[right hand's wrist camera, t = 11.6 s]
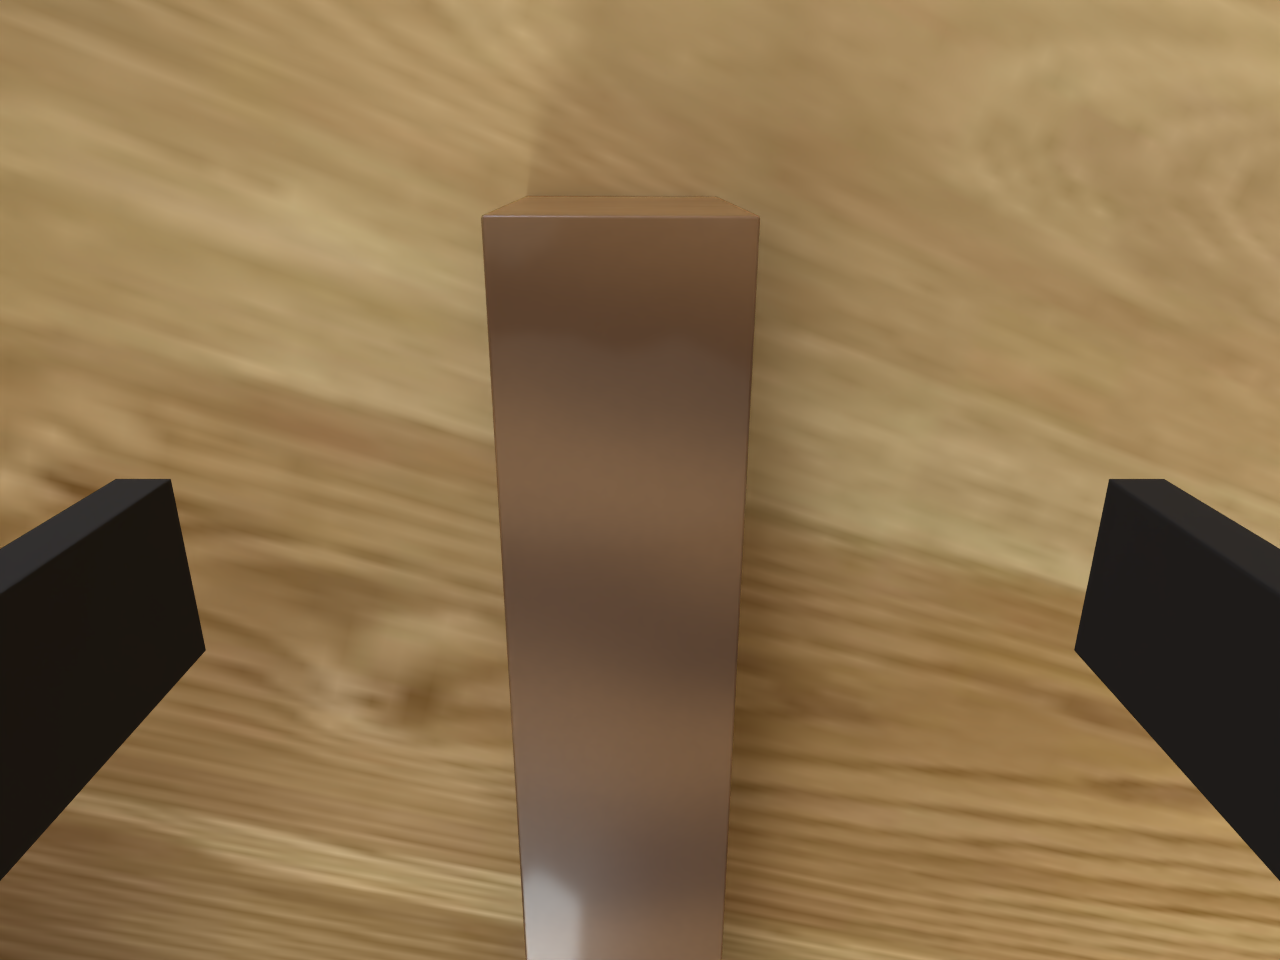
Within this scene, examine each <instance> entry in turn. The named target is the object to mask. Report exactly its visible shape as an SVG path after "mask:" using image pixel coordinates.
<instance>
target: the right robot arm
mask: <svg viewBox="0 0 1280 960" xmlns="http://www.w3.org/2000/svg"><path fill="white" fill-rule="evenodd" d="M205 650H206V649H205V644H204V639H203V634H202V630H201V625H200V620H199V615H198V610H197V605H196V600H195V595H194V590H193V586H192V581H191V576H190V571H189V566H188V561H187V556H186V551H185V547H184V542H183V537H182V532H181V527H180V522H179V517H178V512H177V507H176V503H175V498H174V493H173V488H172V483H171V479H115V480H114V481H112V482H110V483H109V484H107V485H105V486H104V487H102V488H100V489H99V490H97V491H95V492H94V493H92V494H90V495H89V496H87V497H85V498H84V499H82V500H81V501H79V502H77V503H76V504H74V505H72V506H71V507H69V508H67V509H66V510H64V511H62V512H61V513H59V514H57V515H56V516H54V517H52V518H51V519H49V520H47V521H46V522H44V523H42V524H41V525H39V526H37V527H36V528H34V529H32V530H31V531H29V532H27V533H26V534H24V535H23V536H21V537H19V538H18V539H16V540H14V541H13V542H11V543H9V544H8V545H6V546H4V547H3V548H1V549H0V881H1V879H2V878H3V877H4V876H5V875H6V874H7V873H8V872H9V870H10V869H11V868H12V867H13V866H14V865H15V864H16V863H17V861H18V860H19V859H20V858H21V857H22V856H23V855H24V854H25V852H26V851H27V850H28V849H29V848H30V847H31V846H32V845H33V843H34V842H35V841H36V840H37V839H38V838H39V837H40V836H41V834H42V833H43V832H44V831H45V830H46V829H47V828H48V827H49V826H50V824H51V823H52V822H53V821H54V820H55V819H56V818H57V817H58V815H59V814H60V813H61V812H62V811H63V810H64V809H65V808H66V806H67V805H68V804H69V803H70V802H71V801H72V800H73V799H74V797H75V796H76V795H77V794H78V793H79V792H80V791H81V790H82V788H83V787H84V786H85V785H86V784H87V783H88V782H89V781H90V779H91V778H92V777H93V776H94V775H95V774H96V773H97V772H98V771H99V769H100V768H101V767H102V766H103V765H104V764H105V763H106V762H107V760H108V759H109V758H110V757H111V756H112V755H113V754H114V753H115V751H116V750H117V749H118V748H119V747H120V746H121V745H122V744H123V742H124V741H125V740H126V739H127V738H128V737H129V736H130V735H131V733H132V732H133V731H134V730H135V729H136V728H137V727H138V726H139V725H140V723H141V722H142V721H143V720H144V719H145V718H146V717H147V716H148V714H149V713H150V712H151V711H152V710H153V709H154V708H155V707H156V705H157V704H158V703H159V702H160V701H161V700H162V699H163V698H164V696H165V695H166V694H167V693H168V692H169V691H170V690H171V689H172V687H173V686H174V685H175V684H176V683H177V682H178V681H179V680H180V678H181V677H182V676H183V675H184V674H185V673H186V672H187V671H188V670H189V668H190V667H191V666H192V665H193V664H194V663H195V662H196V661H197V659H198V658H199V657H200V656H201V655H202V654H203V653H204V652H205ZM1074 650H1075V652H1076V653H1077V654H1078V655H1079V656H1080V657H1081V658H1082V659H1083V661H1084V662H1085V663H1086V664H1087V665H1088V666H1089V667H1090V668H1091V670H1092V671H1093V672H1094V673H1095V674H1096V675H1097V676H1098V677H1099V678H1100V680H1101V681H1102V682H1103V683H1104V684H1105V685H1106V686H1107V687H1108V689H1109V690H1110V691H1111V692H1112V693H1113V694H1114V695H1115V696H1116V698H1117V699H1118V700H1119V701H1120V702H1121V703H1122V704H1123V705H1124V707H1125V708H1126V709H1127V710H1128V711H1129V712H1130V713H1131V714H1132V716H1133V717H1134V718H1135V719H1136V720H1137V721H1138V722H1139V723H1140V725H1141V726H1142V727H1143V728H1144V729H1145V730H1146V731H1147V732H1148V733H1149V735H1150V736H1151V737H1152V738H1153V739H1154V740H1155V741H1156V742H1157V744H1158V745H1159V746H1160V747H1161V748H1162V749H1163V750H1164V751H1165V753H1166V754H1167V755H1168V756H1169V757H1170V758H1171V759H1172V760H1173V762H1174V763H1175V764H1176V765H1177V766H1178V767H1179V768H1180V769H1181V771H1182V772H1183V773H1184V774H1185V775H1186V776H1187V777H1188V778H1189V779H1190V781H1191V782H1192V783H1193V784H1194V785H1195V786H1196V787H1197V788H1198V790H1199V791H1200V792H1201V793H1202V794H1203V795H1204V796H1205V797H1206V799H1207V800H1208V801H1209V802H1210V803H1211V804H1212V805H1213V806H1214V808H1215V809H1216V810H1217V811H1218V812H1219V813H1220V814H1221V815H1222V817H1223V818H1224V819H1225V820H1226V821H1227V822H1228V823H1229V824H1230V826H1231V827H1232V828H1233V829H1234V830H1235V831H1236V832H1237V833H1238V834H1239V836H1240V837H1241V838H1242V839H1243V840H1244V841H1245V842H1246V843H1247V845H1248V846H1249V847H1250V848H1251V849H1252V850H1253V851H1254V852H1255V854H1256V855H1257V856H1258V857H1259V858H1260V859H1261V860H1262V861H1263V863H1264V864H1265V865H1266V866H1267V867H1268V868H1269V869H1270V870H1271V872H1272V873H1273V874H1274V875H1275V876H1276V877H1277V878H1278V879H1279V881H1280V549H1279V548H1277V547H1276V546H1274V545H1272V544H1271V543H1269V542H1267V541H1266V540H1264V539H1262V538H1261V537H1259V536H1257V535H1256V534H1254V533H1253V532H1251V531H1249V530H1248V529H1246V528H1244V527H1243V526H1241V525H1239V524H1238V523H1236V522H1234V521H1233V520H1231V519H1229V518H1228V517H1226V516H1224V515H1223V514H1221V513H1219V512H1218V511H1216V510H1214V509H1213V508H1211V507H1209V506H1208V505H1206V504H1204V503H1203V502H1201V501H1199V500H1198V499H1196V498H1195V497H1193V496H1191V495H1190V494H1188V493H1186V492H1185V491H1183V490H1181V489H1180V488H1178V487H1176V486H1175V485H1173V484H1171V483H1170V482H1168V481H1166V480H1165V479H1109V483H1108V488H1107V493H1106V498H1105V503H1104V507H1103V512H1102V517H1101V522H1100V527H1099V532H1098V537H1097V542H1096V547H1095V551H1094V556H1093V561H1092V566H1091V571H1090V576H1089V581H1088V586H1087V590H1086V595H1085V600H1084V605H1083V610H1082V615H1081V620H1080V625H1079V630H1078V634H1077V639H1076V644H1075V649H1074Z"/></svg>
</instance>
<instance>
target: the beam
mask: <svg viewBox="0 0 1280 960" xmlns="http://www.w3.org/2000/svg"><path fill="white" fill-rule="evenodd" d="M481 223H482V239H483V256H484V272H485V289H486V305H487V322H488V339H489V355H490V372H491V388H492V405H493V422H494V438H495V455H496V471H497V488H498V504H499V521H500V538H501V554H502V571H503V587H504V604H505V621H506V637H507V654H508V670H509V687H510V704H511V720H512V737H513V753H514V770H515V786H516V803H517V820H518V836H519V853H520V869H521V886H522V903H523V919H524V936H525V952H526V960H722V945H723V925H724V906H725V887H726V867H727V848H728V828H729V809H730V790H731V770H732V751H733V732H734V712H735V693H736V674H737V654H738V635H739V615H740V596H741V577H742V557H743V538H744V519H745V499H746V480H747V461H748V441H749V422H750V402H751V383H752V364H753V344H754V325H755V306H756V286H757V267H758V248H759V228H760V217H759V216H757V215H755V214H753V213H751V212H748V211H746V210H744V209H742V208H740V207H738V206H736V205H733V204H731V203H729V202H727V201H725V200H723V199H720V198H718V197H654V196H526V197H524V198H522V199H519V200H517V201H515V202H512V203H510V204H508V205H506V206H503V207H501V208H499V209H496V210H494V211H492V212H490V213H487V214H485V215H483V216H482V217H481Z"/></svg>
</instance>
